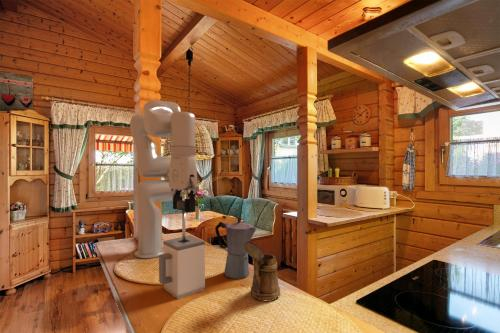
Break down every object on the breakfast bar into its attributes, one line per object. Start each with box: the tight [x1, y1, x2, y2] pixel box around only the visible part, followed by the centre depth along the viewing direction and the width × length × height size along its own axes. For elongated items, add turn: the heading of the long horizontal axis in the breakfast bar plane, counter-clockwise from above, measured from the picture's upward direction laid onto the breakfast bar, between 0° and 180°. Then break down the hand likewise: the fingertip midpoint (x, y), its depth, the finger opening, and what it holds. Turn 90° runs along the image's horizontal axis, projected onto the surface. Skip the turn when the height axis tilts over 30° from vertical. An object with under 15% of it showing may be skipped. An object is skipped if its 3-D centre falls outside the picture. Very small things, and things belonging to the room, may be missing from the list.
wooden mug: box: [244, 240, 281, 301], centre depth 82 cm, size 9×14×18 cm, turn 146°
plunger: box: [176, 199, 187, 243], centre depth 87 cm, size 6×6×16 cm
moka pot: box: [214, 217, 258, 280], centre depth 98 cm, size 10×15×20 cm, turn 78°
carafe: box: [158, 235, 206, 300], centre depth 86 cm, size 9×12×15 cm
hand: (183, 209), depth 87 cm, fingers open, 6 cm apart
